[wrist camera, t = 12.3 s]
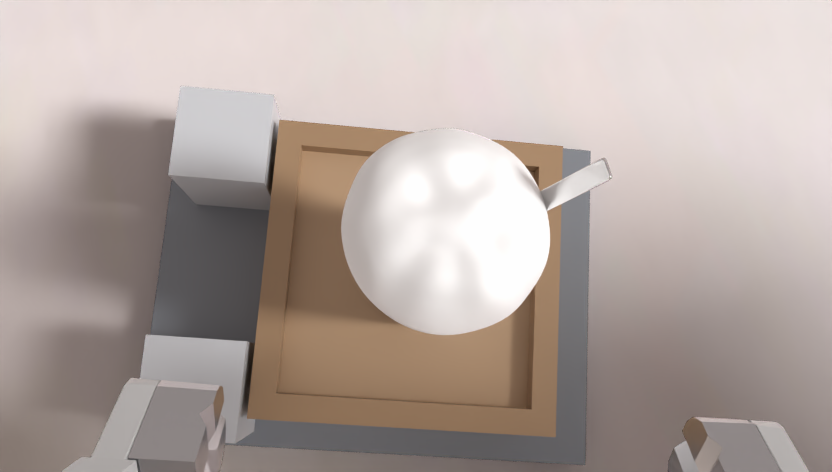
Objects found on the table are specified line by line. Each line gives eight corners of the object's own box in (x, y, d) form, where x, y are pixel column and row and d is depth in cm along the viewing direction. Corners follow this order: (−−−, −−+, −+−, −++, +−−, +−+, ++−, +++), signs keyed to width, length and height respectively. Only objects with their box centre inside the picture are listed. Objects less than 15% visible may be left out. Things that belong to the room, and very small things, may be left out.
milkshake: (522, 316, 23) (648, 279, 13) (366, 362, 22) (377, 359, 12) (481, 188, 24) (573, 62, 14) (329, 228, 23) (312, 125, 13)
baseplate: (580, 159, 29) (630, 115, 24) (574, 460, 26) (628, 483, 21) (188, 123, 27) (151, 68, 22) (145, 436, 25) (93, 453, 20)
